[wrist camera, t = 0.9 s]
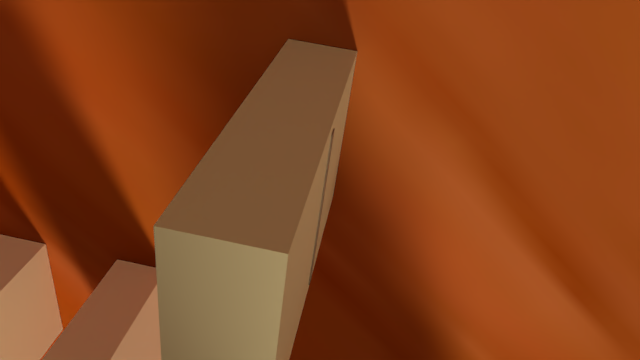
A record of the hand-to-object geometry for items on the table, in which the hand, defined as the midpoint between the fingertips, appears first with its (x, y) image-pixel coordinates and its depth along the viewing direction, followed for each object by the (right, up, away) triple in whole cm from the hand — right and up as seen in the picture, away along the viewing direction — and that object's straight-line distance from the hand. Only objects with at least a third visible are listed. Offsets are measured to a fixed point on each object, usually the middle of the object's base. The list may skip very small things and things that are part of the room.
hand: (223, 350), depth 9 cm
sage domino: (+1, +5, +7) cm, 9 cm away
